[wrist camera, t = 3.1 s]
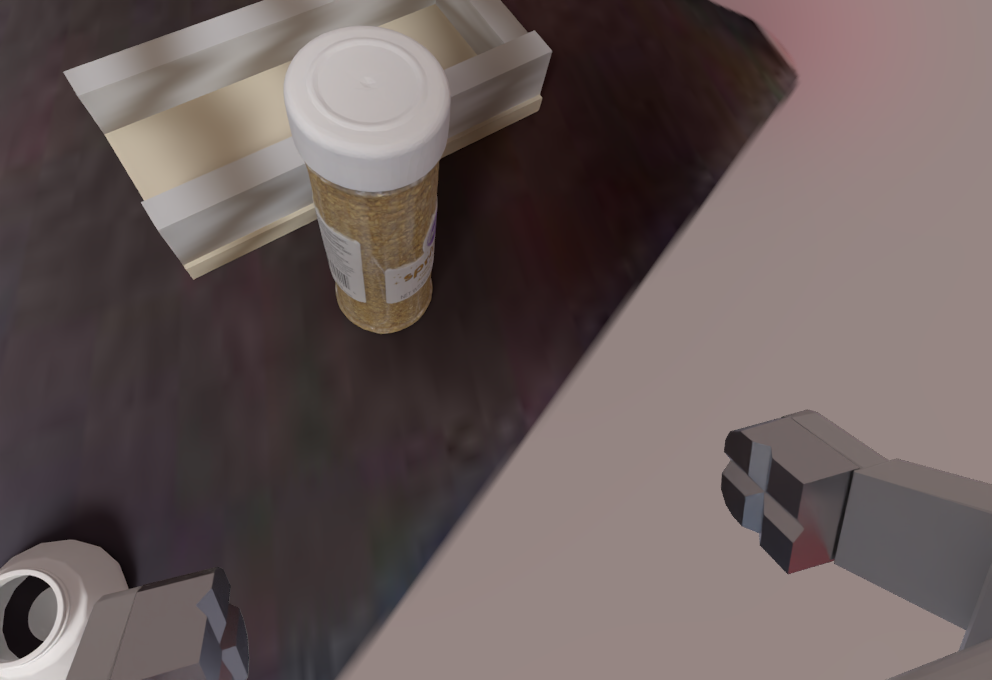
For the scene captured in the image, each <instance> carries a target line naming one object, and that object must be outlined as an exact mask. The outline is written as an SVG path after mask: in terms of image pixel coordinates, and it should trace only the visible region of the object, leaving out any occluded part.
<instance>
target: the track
mask: <svg viewBox="0 0 992 680" xmlns="http://www.w3.org/2000/svg"><path fill="white" fill-rule="evenodd" d="M349 26H376V27H382V28H387V29H390V30H394V31H397V32H399V33H402V34H404V35H406V36H408V37H410V38H412V39H414V40H415V41H417V42H418V43H420V44H421V45H423V46H424V47H425V48H426V49H427V50H429V51H430V52H431V53H432V55H433V56H434V57H435V58H436V59H437V61H438V62H439V63H440V65H441V66H442V68H443V70H444V72H445V74H446V76H447V79H448V83H449V87H450V95H451V105H450V121H449V131H448V139H447V143H446V147H445V150H444V152H443V154H442V156H441V158H443V157H445V156H447V155H449V154H451V153H453V152H455V151H457V150H459V149H461V148H463V147H465V146H467V145H469V144H472V143H474V142H476V141H478V140H480V139H482V138H484V137H486V136H488V135H490V134H492V133H494V132H496V131H498V130H500V129H502V128H504V127H506V126H508V125H510V124H512V123H514V122H516V121H519V120H521V119H523V118H525V117H527V116H529V115H531V114H533V113H535V112H537V111H539V108H540V105H541V101H542V96H541V95H540V92H541V89H542V85H543V82H544V78H545V75H546V71H547V68H548V64H549V61H550V57H551V54H552V50H551V49H550V48H549V47H548V45H547V44H546V43H545V42H544V41H543V40H542V38H541V37H540V36H539V35H538V34H537V33H536V31H535V30H534V31H532V32H530V33H528V32H527V31H526V30H525V29H524V27H523V26H522V25H521V24H520V23H519V22H518V20H517V19H516V18H515V17H514V16H513V14H512V13H511V12H510V11H509V10H508V9H507V7H506V6H505V5H504V4H503V3H502V1H501V0H263V1H261V2H258V3H255V4H252V5H249V6H247V7H244V8H241V9H238V10H235V11H233V12H230V13H227V14H224V15H221V16H219V17H216V18H213V19H210V20H207V21H205V22H202V23H199V24H196V25H193V26H190V27H188V28H185V29H182V30H179V31H176V32H174V33H171V34H168V35H165V36H162V37H160V38H157V39H154V40H151V41H148V42H146V43H143V44H140V45H137V46H134V47H132V48H129V49H126V50H123V51H120V52H117V53H115V54H112V55H109V56H106V57H103V58H101V59H98V60H95V61H92V62H89V63H87V64H84V65H81V66H78V67H75V68H73V69H70V70H67V71H64V74H65V76H66V77H67V79H68V81H69V82H70V84H71V86H72V87H73V89H74V91H75V92H76V94H77V96H78V97H79V99H80V100H81V101H82V103H83V104H84V106H85V107H86V109H87V110H88V111H89V113H90V114H91V116H92V117H93V119H94V120H95V122H96V123H97V124H98V126H99V127H100V129H101V130H102V132H103V133H104V135H105V136H106V138H107V139H108V141H109V143H110V144H111V146H112V148H113V149H114V151H115V153H116V154H117V156H118V158H119V159H120V161H121V163H122V164H123V166H124V168H125V169H126V171H127V173H128V174H129V176H130V178H131V179H132V181H133V183H134V184H135V186H136V188H137V189H138V191H139V193H140V194H141V196H142V197H143V199H144V201H143V202H141V203H142V205H143V207H144V208H145V210H146V212H147V213H148V215H149V217H150V218H151V220H152V222H153V223H154V225H155V227H156V228H157V230H158V231H159V233H160V234H161V236H162V237H163V238H164V240H165V241H166V242H167V244H168V245H169V246H170V248H171V249H172V250H173V252H174V253H175V255H176V256H177V257H178V259H179V260H180V261H181V263H182V264H183V265H184V267H185V269H186V270H187V272H188V273H189V274H190V276H191V277H192V278H193V280H194V279H196V278H198V277H200V276H202V275H204V274H206V273H208V272H210V271H212V270H214V269H216V268H218V267H220V266H222V265H224V264H226V263H228V262H230V261H232V260H234V259H237V258H239V257H241V256H243V255H245V254H247V253H249V252H251V251H253V250H255V249H257V248H259V247H261V246H263V245H265V244H267V243H269V242H271V241H273V240H275V239H277V238H279V237H281V236H284V235H286V234H288V233H290V232H292V231H294V230H296V229H298V228H300V227H302V226H304V225H306V224H308V223H310V222H312V221H314V220H316V219H317V215H316V211H315V207H314V203H313V199H312V187H311V183H310V178H309V174H308V170H307V167H306V164H305V162H304V160H303V159H302V157H301V156H300V154H299V152H298V150H297V148H296V146H295V143H294V141H293V137H292V134H291V129H290V125H289V121H288V117H287V112H286V107H285V102H284V92H283V90H284V79H285V75H286V72H287V69H288V67H289V65H290V63H291V61H292V59H293V58H294V56H295V55H296V54H297V53H298V51H299V50H300V49H301V48H303V47H304V46H305V45H306V44H307V43H308V42H310V41H311V40H313V39H314V38H316V37H318V36H320V35H321V34H323V33H326V32H329V31H332V30H335V29H338V28H343V27H349ZM441 158H440V159H441Z"/></svg>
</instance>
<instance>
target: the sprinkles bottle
mask: <svg viewBox="0 0 992 680" xmlns="http://www.w3.org/2000/svg"><path fill="white" fill-rule="evenodd" d="M283 92H284V102H285V107H286V112H287V117H288V121H289V125H290V129H291V134H292V137H293V141H294V143H295V146H296V148H297V150H298V152H299V154H300V156H301V157H302V159H303V160H304V162H305V164H306V167H307V170H308V174H309V178H310V183H311V187H312V199H313V203H314V207H315V211H316V215H317V219H318V222H319V226H320V230H321V235H322V239H323V242H324V246H325V250H326V254H327V258H328V262H329V266H330V270H331V273H332V276H333V278H334V280H335V281H336V286H335V289H336V297H337V301H338V304H339V307H340V309H341V310H342V312H343V313H344V314H345V316H346V317H347V318H348V319H349V320H350V321H351V322H353V323H354V324H356V325H357V326H359V327H361V328H362V329H364V330H369V331H371V332H376V333H380V334H385V333H393V332H397V331H400V330H402V329H404V328H407V327H409V326H411V325H412V324H414V323H415V322H416V321H418V320H419V319H420V318H421V316H422V315H423V314H424V313H425V311H426V309H427V307H428V305H429V303H430V301H431V297H432V281H431V270H432V266H433V259H434V245H435V231H436V217H437V186H438V170H439V160H440V158H441V156H442V154H443V152H444V150H445V147H446V143H447V139H448V131H449V121H450V105H451V95H450V87H449V83H448V79H447V76H446V74H445V72H444V70H443V68H442V66H441V65H440V63H439V62H438V61H437V59H436V58H435V57H434V56H433V55H432V53H431V52H430V51H429V50H427V49H426V48H425V47H424V46H423V45H421V44H420V43H418V42H417V41H415V40H414V39H412V38H410V37H408V36H406V35H404V34H402V33H399V32H397V31H394V30H390V29H387V28H382V27H376V26H349V27H343V28H338V29H335V30H332V31H329V32H326V33H323V34H321V35H320V36H318V37H316V38H314V39H313V40H311V41H310V42H308V43H307V44H306V45H305V46H304V47H303V48H301V49H300V50H299V51H298V53H297V54H296V55H295V56H294V58H293V59H292V61H291V63H290V65H289V67H288V69H287V72H286V75H285V79H284V90H283Z"/></svg>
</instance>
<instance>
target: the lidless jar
mask: <svg viewBox="0 0 992 680" xmlns="http://www.w3.org/2000/svg"><path fill="white" fill-rule="evenodd" d="M29 575H32V576H36V577H38V578H41V579H42V580H44V581H45V582H47V583H48V584H49V585H50V586H51V587H49V588H48V589H46V590H45V591H43V592H42V593H41V594H40V595H39V596H38V597H37V598H36V599H35V601H34V602H33V604H32V606H31V608H30V611H29V615H28V625H29V628H30V630H31V632H32V634H33V635H34V636H35V637H36V638H38V639H39V640H41V641H44V642H43V643H42V644H41V645H40V646H39V647H38V648H37V649H36V650H34V651H33V652H32V653H30V654H29V655H27V656H25V657H23V658H21V659H19V658H18V657H17V656H16V655H14V654H13V653H12V652H11V651H10V650H9V649H8V646H7V643H6V640H5V637H4V634H3V631H2V628H3V619H4V610H5V608H6V606H7V604H8V602H9V600H10V598H11V596H12V594H13V592H14V590H15V589H16V588H17V587H18V586H19V585H20V584H21V583H22V582H23V581H24V580H25V579H26V578H27V577H28V576H29ZM127 589H128V585H127V583H126V580H125V577H124V575H123V572H122V570H121V567H120V565H119V563H118V562H117V561H116V560H115V559H113V558H112V557H111V556H110V555H109V554H108V553H107V552H106V551H104V550H103V549H102V548H101V547H99V546H95V545H92V544H88V543H84V542H81V541H77V540H63V541H55V542H47V543H40V544H38V545H36V546H34V547H32V548H30V549H28V550H26V551H24V552H22V553H20V554H18V555H16V556H14V557H12V558H11V559H10V560H9V561H8V562H7V563H6V564H5V565H4V566H3V567H2V568H1V569H0V680H66V677H67V675H68V672H69V669H70V667H71V664H72V662H73V659H74V656H75V654H76V651H77V648H78V646H79V643H80V640H81V638H82V635H83V633H84V630H85V627H86V625H87V622H88V619H89V617H90V614H91V611H92V609H93V606H94V605H95V603H96V602H97V601H98V600H99V599H100V598H101V597H102V596H103V595H107V594H111V593H115V592H119V591H123V590H127Z"/></svg>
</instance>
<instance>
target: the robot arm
mask: <svg viewBox="0 0 992 680" xmlns="http://www.w3.org/2000/svg"><path fill="white" fill-rule="evenodd" d="M724 452H725V453H726V455H727V456H728V457H729V458H730V460H731V461H730V462H729V464H728V465H727V467H726V468H725V469H724V471H723V472H722V483H721V490H722V493H723V497H724V500H725V504H726V506H727V507H728V509H729V511H730V512H731V514H732V516H733V517H734V518H735V519H736V520H737V521H738V522H739V523H740V525H741V526H743V527H745V528H747V529H750V530H752V531H755V532H757V533H759V540H760V546H761V547H762V548H763V549H764V550H765V551H766V552H767V553H768V554H769V555H770V556H771V557H772V558H773V559H774V560H775V562H776V563H777V564H778V565H779V566H780V567H781V568H782V569H783V570H784V571H785V572H786V573H787V574H791V573H794V572H798V571H801V570H804V569H808V568H811V567H815V566H818V565H822V564H825V563H828V562H832V561H834V564H836V565H838V566H840V567H842V568H844V569H846V570H848V571H850V572H852V573H854V574H856V575H858V576H860V577H862V578H864V579H866V580H868V581H870V582H872V583H873V584H876V585H877V586H880V587H881V588H883V589H885V590H888V591H889V592H891V593H893V594H895V595H897V596H899V597H901V598H903V599H905V600H907V601H909V602H911V603H913V604H915V605H917V606H919V607H921V608H923V609H925V610H927V611H929V612H931V613H933V614H935V615H937V616H939V617H941V618H943V619H945V620H947V621H949V622H951V623H953V624H955V625H957V626H959V627H961V628H963V629H965V630H966V632H965V635H964V638H963V641H962V643H961V646H960V649H959V651H958V652H956V653H953V654H951V655H948V656H945V657H943V658H940V659H938V660H935V661H933V662H930V663H927V664H925V665H922V666H920V667H918V668H915V669H912V670H910V671H907V672H904V673H902V674H899V675H897V676H895V677H892V678H889V679H887V680H992V484H988V483H985V482H981V481H978V480H974V479H970V478H966V477H963V476H959V475H956V474H952V473H948V472H945V471H941V470H937V469H934V468H930V467H926V466H923V465H919V464H915V463H911V462H908V461H904V460H901V459H894V460H890V461H889V460H887V459H886V458H885V457H883V456H882V455H880V454H879V453H877V452H876V451H874V450H873V449H871V448H870V447H868V446H867V445H865V444H864V443H862V442H861V441H859V440H858V439H856V438H855V437H854V436H852V435H850V434H849V433H848V432H846V431H845V430H843V429H842V428H840V427H839V426H837V425H836V424H834V423H833V422H831V421H830V420H828V419H827V418H825V417H824V416H823V415H821V414H820V413H818V412H815V411H812V410H804V411H800V412H797V413H794V414H790V415H786V416H783V417H781V418H779V419H774V420H770V421H767V422H763V423H760V424H756V425H752V426H749V427H745V428H741V429H738V430H734V431H730V433H729V434H728V436H727V438H726V440H725V448H724ZM230 588H231V585H230V583H229V581H228V579H227V576H226V574H225V572H224V569H222V568H220V567H215V568H211V569H207V570H203V571H199V572H195V573H191V574H186V575H182V576H178V577H174V578H170V579H166V580H162V581H157V582H153V583H149V584H145V585H143V586H141V587H136V588H131V589H127V590H123V591H119V592H115V593H111V594H107V595H103V596H102V597H101V598H100V599H99V600H98V601H97V602H96V603H95V605H94V606H93V609H92V611H91V614H90V617H89V619H88V622H87V625H86V627H85V630H84V633H83V635H82V638H81V640H80V643H79V646H78V648H77V651H76V654H75V656H74V659H73V662H72V664H71V667H70V669H69V672H68V675H67V677H66V680H246V679H247V678H248V669H249V649H248V636H247V632H246V627H245V623H244V619H243V617H242V614H241V611H240V609H239V608H238V607H236V606H234V605H232V604H230V603H229V597H230Z"/></svg>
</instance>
